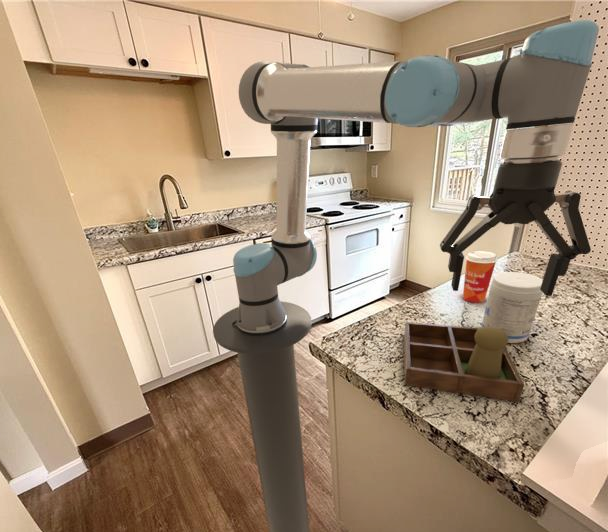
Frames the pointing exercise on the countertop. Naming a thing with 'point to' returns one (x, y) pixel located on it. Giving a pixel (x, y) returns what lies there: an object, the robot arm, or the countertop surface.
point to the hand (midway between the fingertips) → (498, 290)
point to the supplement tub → (513, 304)
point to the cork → (487, 352)
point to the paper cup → (478, 275)
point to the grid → (453, 362)
